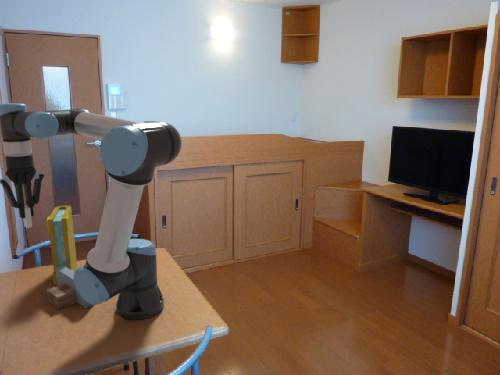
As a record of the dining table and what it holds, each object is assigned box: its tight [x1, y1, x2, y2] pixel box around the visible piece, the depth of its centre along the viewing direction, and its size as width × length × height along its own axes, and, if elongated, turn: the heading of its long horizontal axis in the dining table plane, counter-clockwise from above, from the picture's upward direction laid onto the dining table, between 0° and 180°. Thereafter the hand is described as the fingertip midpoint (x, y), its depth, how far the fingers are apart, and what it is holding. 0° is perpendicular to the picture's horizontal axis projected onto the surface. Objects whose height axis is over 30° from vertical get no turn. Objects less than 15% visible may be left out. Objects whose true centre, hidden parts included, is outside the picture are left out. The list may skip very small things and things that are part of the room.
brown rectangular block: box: [46, 283, 77, 310], centre depth 135 cm, size 8×6×4 cm
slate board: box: [55, 265, 94, 309], centre depth 138 cm, size 20×3×8 cm, turn 50°
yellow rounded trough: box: [45, 205, 78, 286], centre depth 153 cm, size 17×7×25 cm, turn 17°
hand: (28, 226), depth 130 cm, fingers closed
